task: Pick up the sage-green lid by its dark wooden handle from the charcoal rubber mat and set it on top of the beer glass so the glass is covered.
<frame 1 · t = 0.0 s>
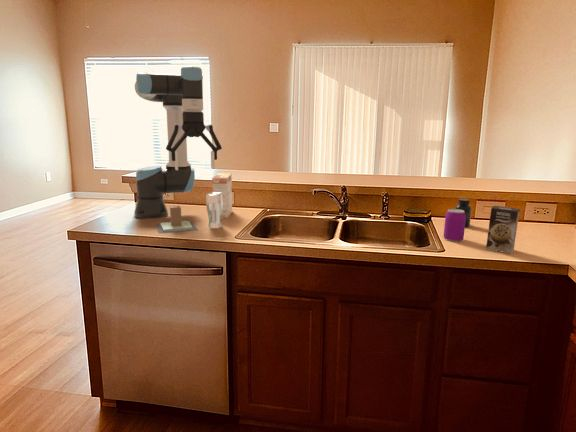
hand: (195, 169, 165), 28 cm above the worktop, tool pointing down, fingers open, 13 cm apart
coffeecake box: (223, 215, 215), on the worktop
beer glass: (215, 228, 191), on the worktop
mat: (176, 228, 189), on the worktop
supplement bottle: (461, 225, 201), on the worktop
beverage can: (453, 239, 178), on the worktop
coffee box: (499, 250, 165), on the worktop
lid: (176, 227, 189), on the worktop, touching mat
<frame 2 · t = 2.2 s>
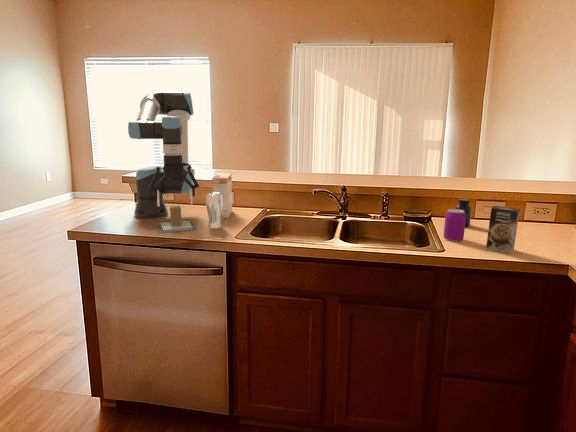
hand: (175, 205, 186), 10 cm above the worktop, tool pointing down, fingers open, 13 cm apart
nothing on the worktop moved.
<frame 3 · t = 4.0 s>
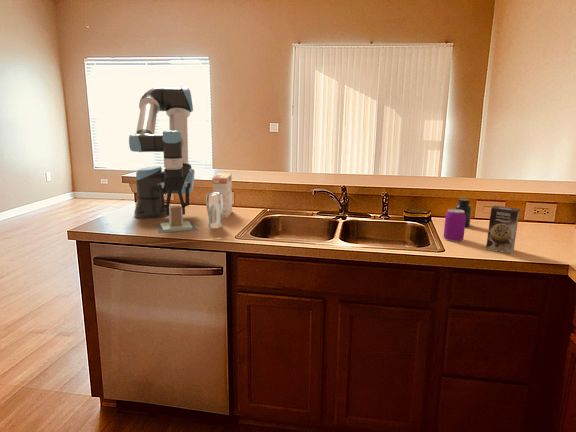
hand: (176, 222, 188), 3 cm above the worktop, tool pointing down, fingers closed on lid, 4 cm apart
lid: (176, 227, 189), point 1 cm above the worktop, touching gripper, mat
everything else where it was.
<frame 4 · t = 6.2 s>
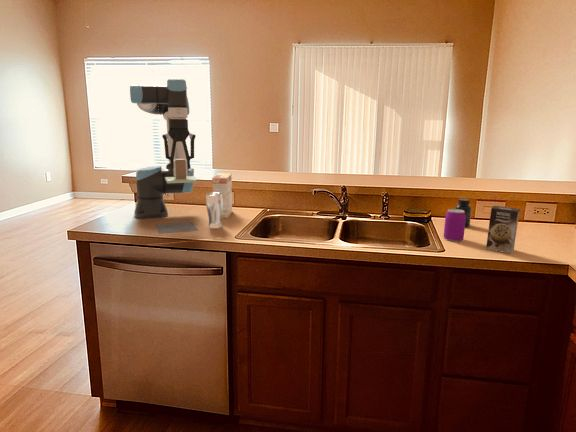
hand: (180, 175, 183), 23 cm above the worktop, tool pointing down, fingers closed on lid, 4 cm apart
lid: (180, 180, 184), point 21 cm above the worktop, touching gripper
everything else where it was.
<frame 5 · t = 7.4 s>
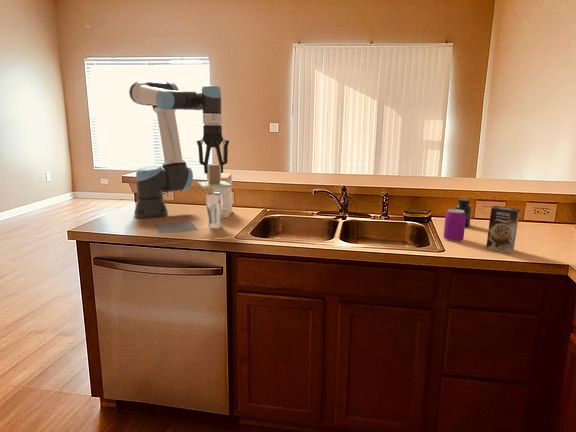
hand: (214, 180, 186), 21 cm above the worktop, tool pointing down, fingers closed on lid, 4 cm apart
lid: (214, 185, 186), point 18 cm above the worktop, touching gripper
everything else where it was.
when the fingers open (19 cm above the worktop, at t = 8.3 s): lid drops 1 cm, resting on beer glass.
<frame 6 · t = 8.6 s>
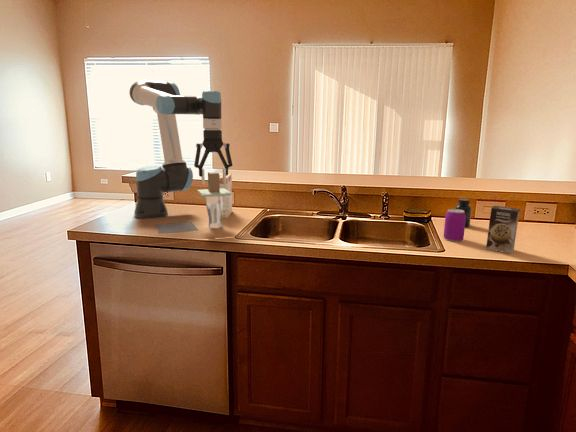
hand: (213, 183, 186), 19 cm above the worktop, tool pointing down, fingers open, 8 cm apart
beer glass: (215, 228, 191), on the worktop, touching lid
lid: (214, 193, 187), point 15 cm above the worktop, touching beer glass
everything else where it was.
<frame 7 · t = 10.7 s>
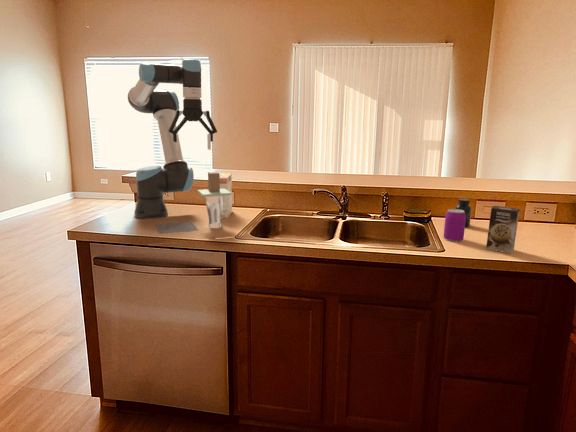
hand: (193, 149, 188), 33 cm above the worktop, tool pointing down, fingers open, 13 cm apart
nothing on the worktop moved.
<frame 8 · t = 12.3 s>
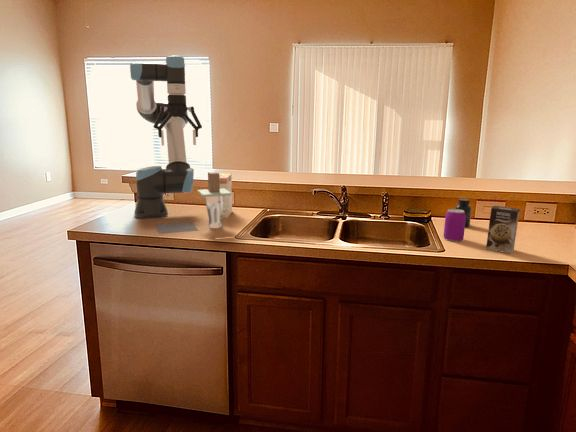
hand: (178, 145, 191), 35 cm above the worktop, tool pointing down, fingers open, 13 cm apart
nothing on the worktop moved.
at the end: lid 0.1 cm off-centre on the beer glass, point 15.2 cm above the beer glass's base; beer glass tilted 0°; the gripper is holding nothing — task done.
